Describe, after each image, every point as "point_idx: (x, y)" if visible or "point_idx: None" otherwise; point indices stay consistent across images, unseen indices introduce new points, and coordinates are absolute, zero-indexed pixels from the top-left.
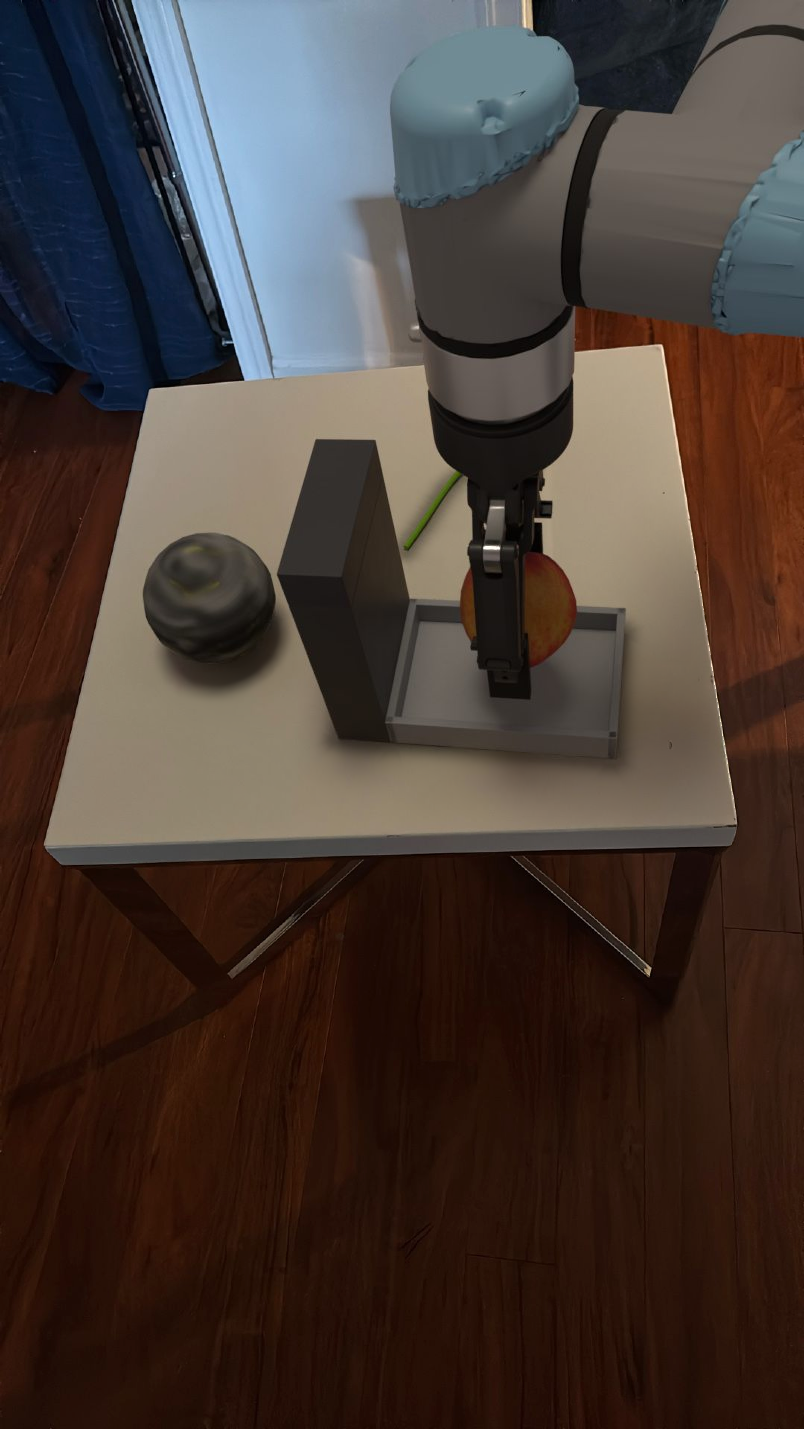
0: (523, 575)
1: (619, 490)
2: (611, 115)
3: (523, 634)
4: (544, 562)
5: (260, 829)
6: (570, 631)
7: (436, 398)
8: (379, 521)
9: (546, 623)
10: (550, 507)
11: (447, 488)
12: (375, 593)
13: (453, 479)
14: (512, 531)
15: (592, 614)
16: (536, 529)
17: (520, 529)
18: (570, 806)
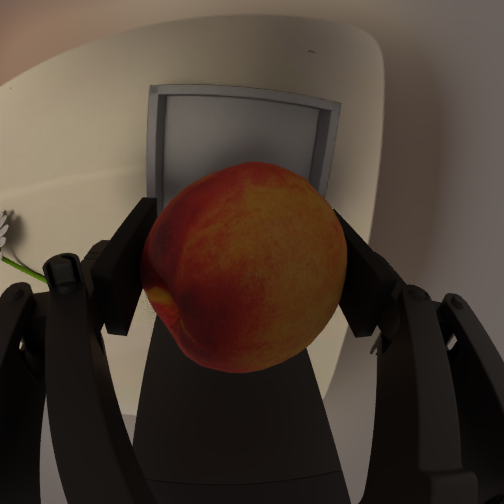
0: (447, 413)
1: (8, 127)
2: None
3: (415, 303)
4: (209, 266)
5: (340, 347)
6: (291, 171)
7: None
8: (183, 458)
9: (334, 235)
10: (57, 267)
11: (35, 274)
12: (252, 417)
13: (27, 271)
14: (123, 316)
15: (157, 123)
16: (109, 280)
17: (117, 307)
18: (367, 150)
